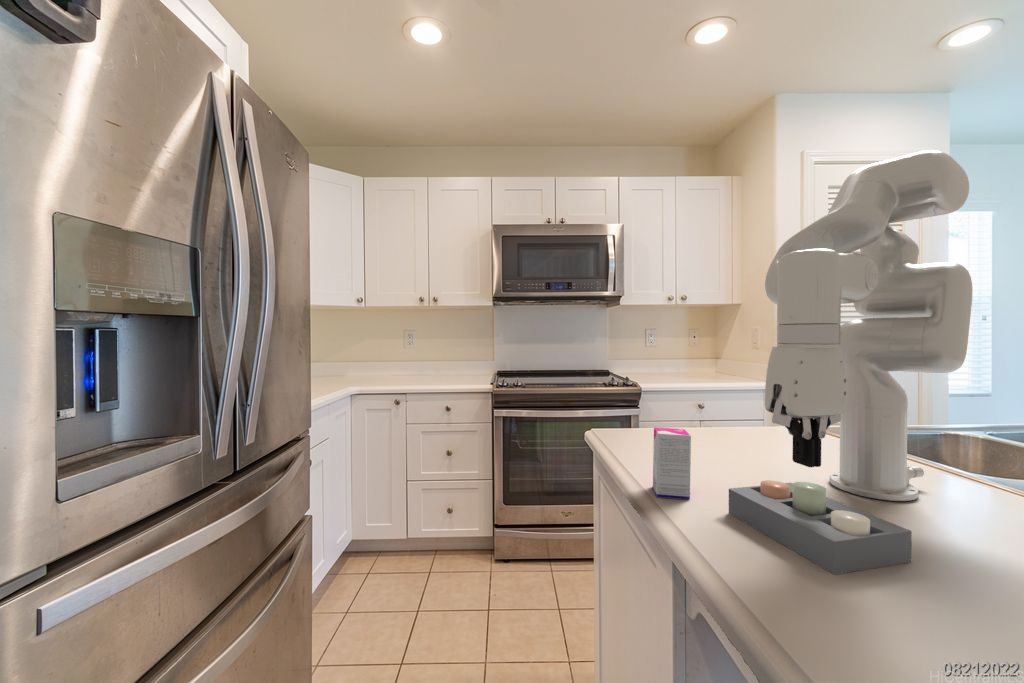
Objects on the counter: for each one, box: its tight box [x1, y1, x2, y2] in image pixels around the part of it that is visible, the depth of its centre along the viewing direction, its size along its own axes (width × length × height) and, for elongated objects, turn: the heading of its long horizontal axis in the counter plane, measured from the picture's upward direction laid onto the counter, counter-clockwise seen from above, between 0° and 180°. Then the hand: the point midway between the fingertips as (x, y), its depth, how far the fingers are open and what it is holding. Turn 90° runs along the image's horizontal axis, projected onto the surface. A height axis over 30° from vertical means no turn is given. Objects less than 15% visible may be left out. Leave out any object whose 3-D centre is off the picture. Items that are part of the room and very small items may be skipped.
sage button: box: [792, 481, 827, 516], centre depth 62 cm, size 4×4×4 cm
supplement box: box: [652, 427, 692, 500], centre depth 78 cm, size 6×6×12 cm
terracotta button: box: [760, 479, 790, 500], centre depth 68 cm, size 4×4×4 cm
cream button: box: [831, 510, 870, 536], centre depth 56 cm, size 4×4×4 cm
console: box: [728, 482, 913, 575], centre depth 62 cm, size 12×18×4 cm, turn 12°
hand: (806, 464), depth 62 cm, fingers closed
